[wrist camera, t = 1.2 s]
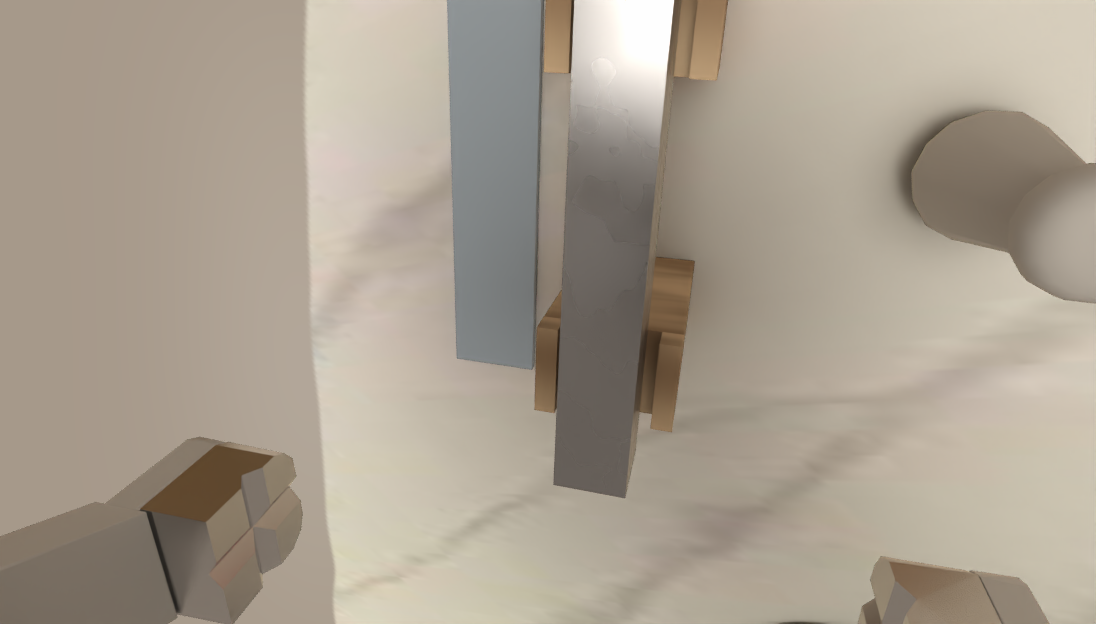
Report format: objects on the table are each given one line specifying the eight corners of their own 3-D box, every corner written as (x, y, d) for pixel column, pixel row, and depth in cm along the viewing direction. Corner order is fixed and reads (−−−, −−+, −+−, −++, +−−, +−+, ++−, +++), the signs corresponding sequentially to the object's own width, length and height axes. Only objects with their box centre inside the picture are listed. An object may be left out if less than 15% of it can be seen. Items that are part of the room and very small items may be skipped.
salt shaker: (914, 243, 33) (1018, 355, 21) (885, 134, 31) (980, 191, 19) (1049, 203, 30) (1249, 303, 19) (1025, 84, 29) (1227, 113, 17)
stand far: (686, 327, 37) (671, 432, 27) (584, 313, 39) (534, 409, 29) (694, 261, 36) (682, 346, 26) (587, 249, 37) (536, 327, 27)
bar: (635, 449, 29) (625, 498, 26) (571, 438, 30) (553, 484, 27) (693, -122, 21) (688, -151, 18) (601, -121, 21) (580, -148, 18)
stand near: (719, 67, 32) (716, 80, 22) (599, 62, 33) (543, 72, 23) (731, -24, 30) (733, -56, 20) (604, -26, 31) (547, -57, 21)
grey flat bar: (534, 366, 41) (531, 369, 40) (459, 355, 42) (456, 358, 41) (547, -122, 31) (544, -124, 30) (447, -120, 32) (443, -122, 31)
